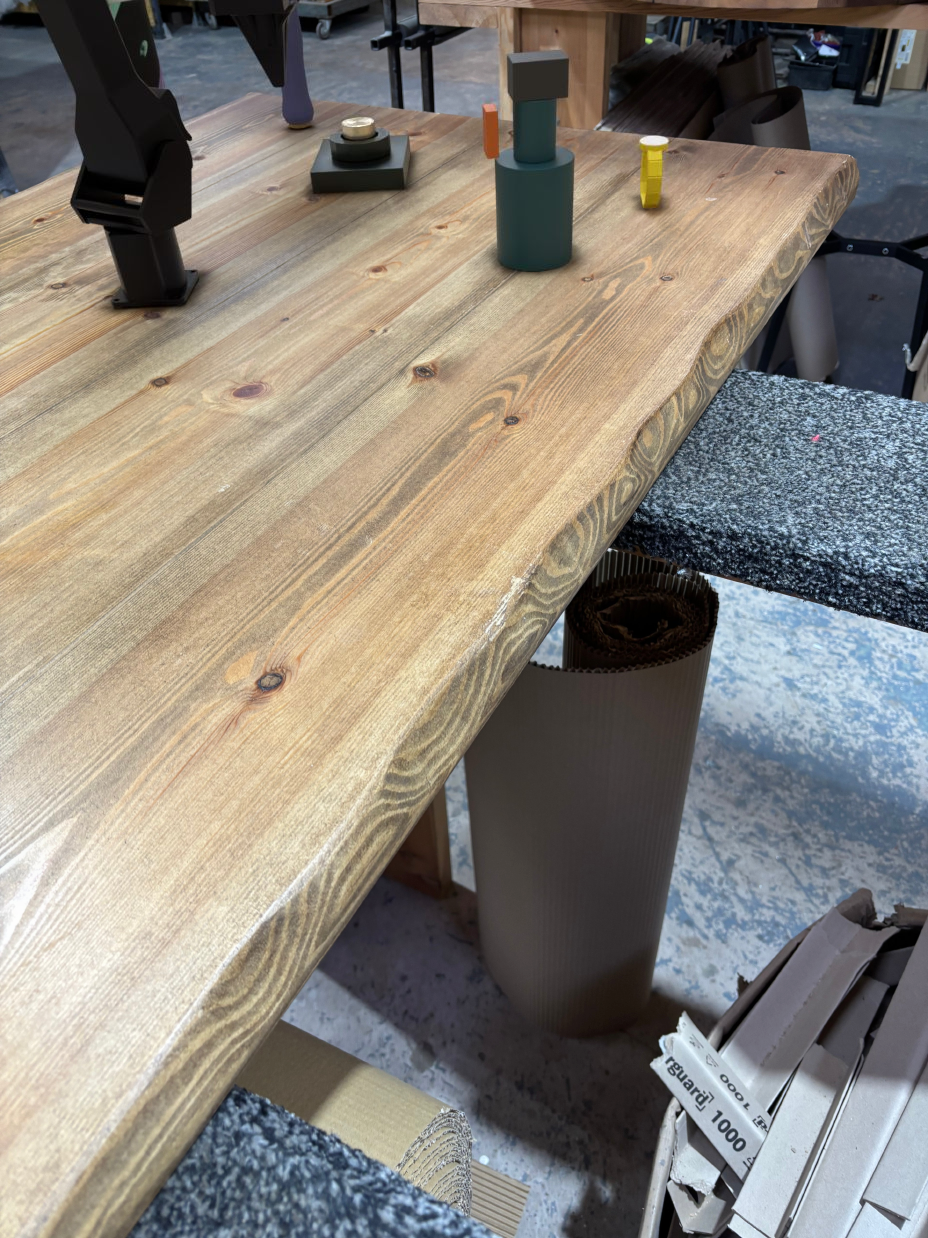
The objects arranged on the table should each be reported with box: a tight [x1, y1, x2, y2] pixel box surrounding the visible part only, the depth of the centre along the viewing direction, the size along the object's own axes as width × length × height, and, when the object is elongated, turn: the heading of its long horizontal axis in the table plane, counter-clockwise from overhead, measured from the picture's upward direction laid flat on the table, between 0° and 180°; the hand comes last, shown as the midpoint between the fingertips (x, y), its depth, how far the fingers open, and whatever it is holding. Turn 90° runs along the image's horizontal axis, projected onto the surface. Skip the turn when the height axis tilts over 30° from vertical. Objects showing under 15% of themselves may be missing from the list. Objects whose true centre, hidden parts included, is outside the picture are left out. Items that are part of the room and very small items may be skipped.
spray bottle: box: [494, 48, 576, 272], centre depth 80 cm, size 7×7×16 cm
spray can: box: [106, 0, 167, 89], centre depth 106 cm, size 6×6×20 cm
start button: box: [340, 116, 376, 141], centre depth 102 cm, size 4×4×2 cm
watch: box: [638, 135, 670, 209], centre depth 91 cm, size 6×3×6 cm, turn 178°
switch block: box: [309, 126, 411, 195], centre depth 103 cm, size 12×10×4 cm
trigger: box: [481, 102, 500, 160], centre depth 78 cm, size 1×2×4 cm, turn 6°
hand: (279, 86), depth 89 cm, fingers closed
